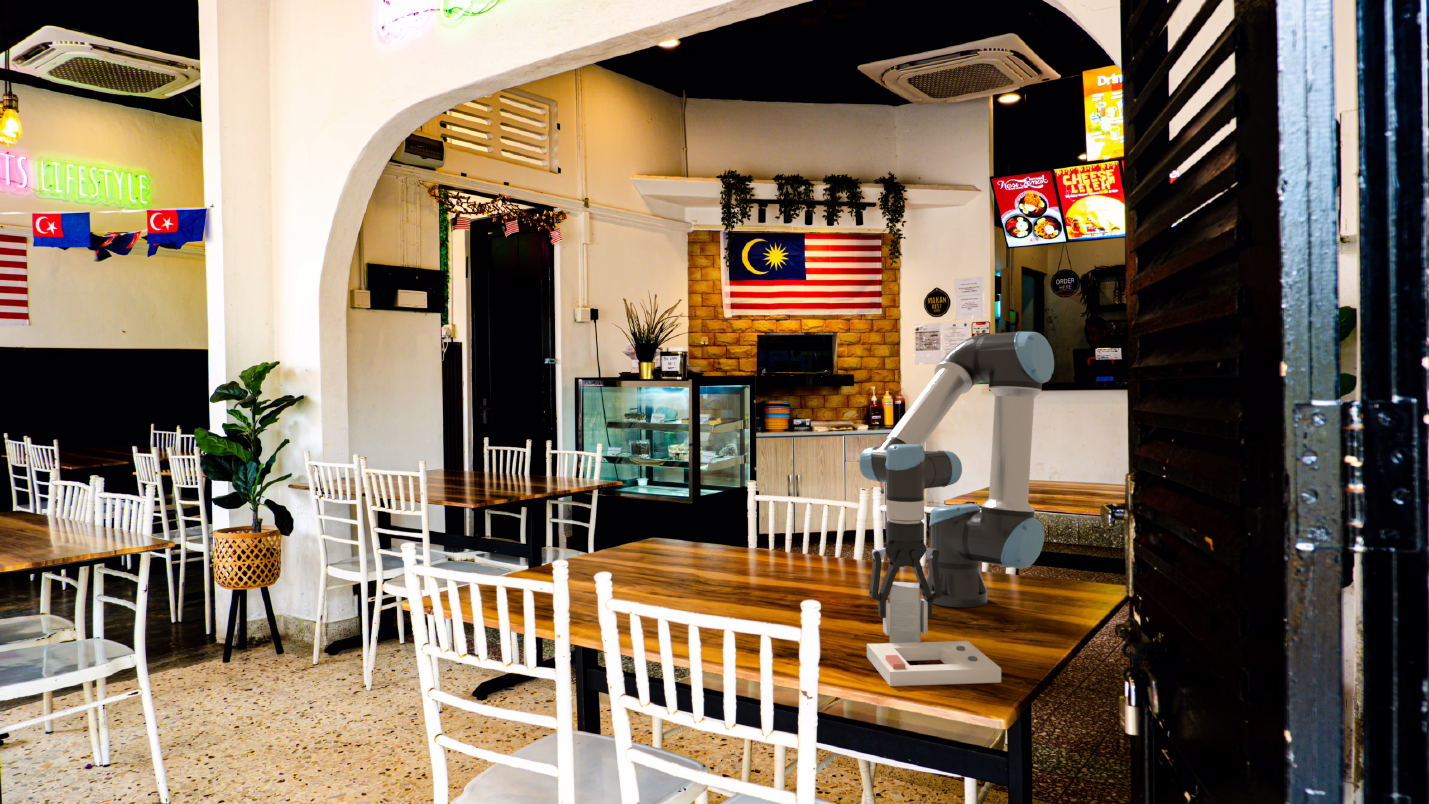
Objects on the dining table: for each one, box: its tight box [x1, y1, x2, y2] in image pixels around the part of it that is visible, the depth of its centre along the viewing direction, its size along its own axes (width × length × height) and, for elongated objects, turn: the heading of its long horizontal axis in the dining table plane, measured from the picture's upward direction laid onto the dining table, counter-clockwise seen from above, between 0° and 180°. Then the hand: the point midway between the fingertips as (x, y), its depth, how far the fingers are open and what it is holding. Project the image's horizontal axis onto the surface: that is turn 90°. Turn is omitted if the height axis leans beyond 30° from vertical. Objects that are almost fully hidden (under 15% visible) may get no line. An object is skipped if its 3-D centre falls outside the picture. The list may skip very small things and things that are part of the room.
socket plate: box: [866, 640, 1002, 687], centre depth 158 cm, size 20×16×3 cm
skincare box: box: [888, 581, 922, 643], centre depth 174 cm, size 6×4×12 cm
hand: (905, 632), depth 174 cm, fingers closed on skincare box, 7 cm apart
